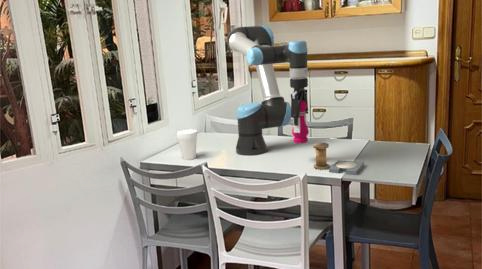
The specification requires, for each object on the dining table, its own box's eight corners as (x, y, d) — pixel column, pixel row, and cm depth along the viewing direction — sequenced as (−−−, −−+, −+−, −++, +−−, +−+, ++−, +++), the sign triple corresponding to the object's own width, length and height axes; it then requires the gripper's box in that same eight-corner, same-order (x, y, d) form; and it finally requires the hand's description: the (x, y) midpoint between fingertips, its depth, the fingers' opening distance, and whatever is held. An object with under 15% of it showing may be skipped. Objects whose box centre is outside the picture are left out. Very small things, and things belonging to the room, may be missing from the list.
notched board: (328, 172, 187) (328, 168, 187) (338, 163, 198) (338, 159, 198) (355, 174, 182) (355, 170, 182) (363, 165, 193) (363, 161, 193)
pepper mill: (310, 139, 205) (309, 95, 201) (307, 144, 199) (306, 98, 194) (294, 139, 208) (292, 95, 203) (290, 143, 201) (289, 98, 196)
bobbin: (311, 169, 193) (310, 145, 191) (316, 164, 199) (315, 142, 196) (326, 170, 190) (325, 146, 188) (331, 166, 196) (330, 143, 193)
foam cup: (175, 160, 220) (173, 133, 217) (185, 155, 228) (182, 129, 226) (193, 161, 216) (191, 134, 214) (202, 155, 225) (200, 129, 222)
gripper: (298, 81, 186) (300, 136, 192) (315, 74, 203) (316, 125, 209) (281, 81, 190) (283, 135, 195) (298, 74, 207) (300, 125, 212)
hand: (300, 130), depth 202 cm, fingers closed on pepper mill, 7 cm apart
